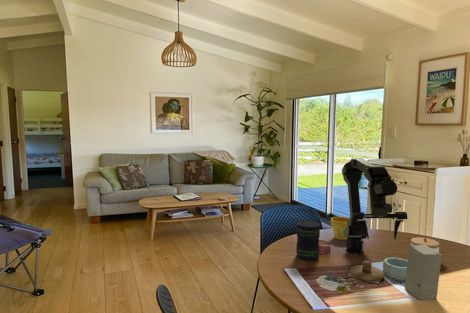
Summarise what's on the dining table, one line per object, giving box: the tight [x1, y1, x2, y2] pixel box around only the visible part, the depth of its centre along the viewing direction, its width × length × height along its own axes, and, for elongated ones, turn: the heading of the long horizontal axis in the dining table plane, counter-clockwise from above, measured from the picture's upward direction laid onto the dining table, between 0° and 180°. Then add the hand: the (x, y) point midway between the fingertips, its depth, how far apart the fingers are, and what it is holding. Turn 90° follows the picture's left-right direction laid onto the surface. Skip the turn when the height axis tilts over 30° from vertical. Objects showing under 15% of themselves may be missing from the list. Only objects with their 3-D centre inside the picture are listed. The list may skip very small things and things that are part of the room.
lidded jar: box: [410, 237, 440, 253], centre depth 142 cm, size 11×11×9 cm
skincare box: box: [404, 244, 443, 301], centre depth 111 cm, size 8×7×16 cm
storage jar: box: [295, 219, 321, 262], centre depth 143 cm, size 10×10×15 cm
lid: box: [349, 260, 385, 282], centre depth 126 cm, size 12×12×4 cm
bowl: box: [382, 256, 408, 281], centre depth 127 cm, size 10×10×4 cm
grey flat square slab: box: [347, 272, 386, 285], centre depth 126 cm, size 11×11×1 cm
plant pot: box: [330, 216, 350, 241], centre depth 169 cm, size 10×10×10 cm
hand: (381, 239), depth 125 cm, fingers open, 9 cm apart
